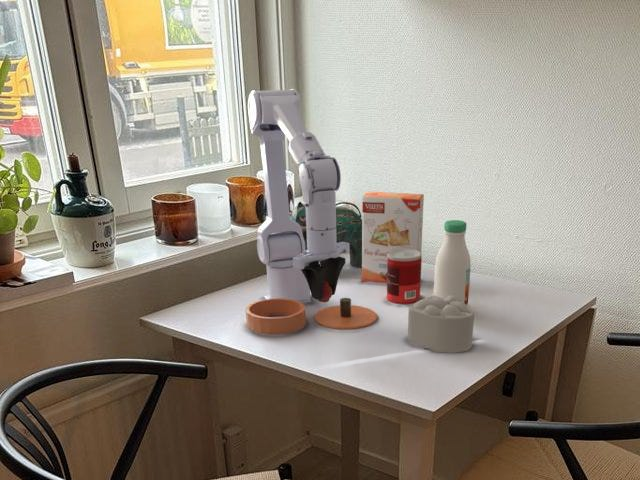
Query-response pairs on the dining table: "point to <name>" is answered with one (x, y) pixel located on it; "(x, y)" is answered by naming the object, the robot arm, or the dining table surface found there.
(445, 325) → the lumpy-topped squat cylinder
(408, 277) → the canned food
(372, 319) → the lid
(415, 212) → the cracker box
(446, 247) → the milk bottle
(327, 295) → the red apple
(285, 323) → the pot
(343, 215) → the ceramic cat
